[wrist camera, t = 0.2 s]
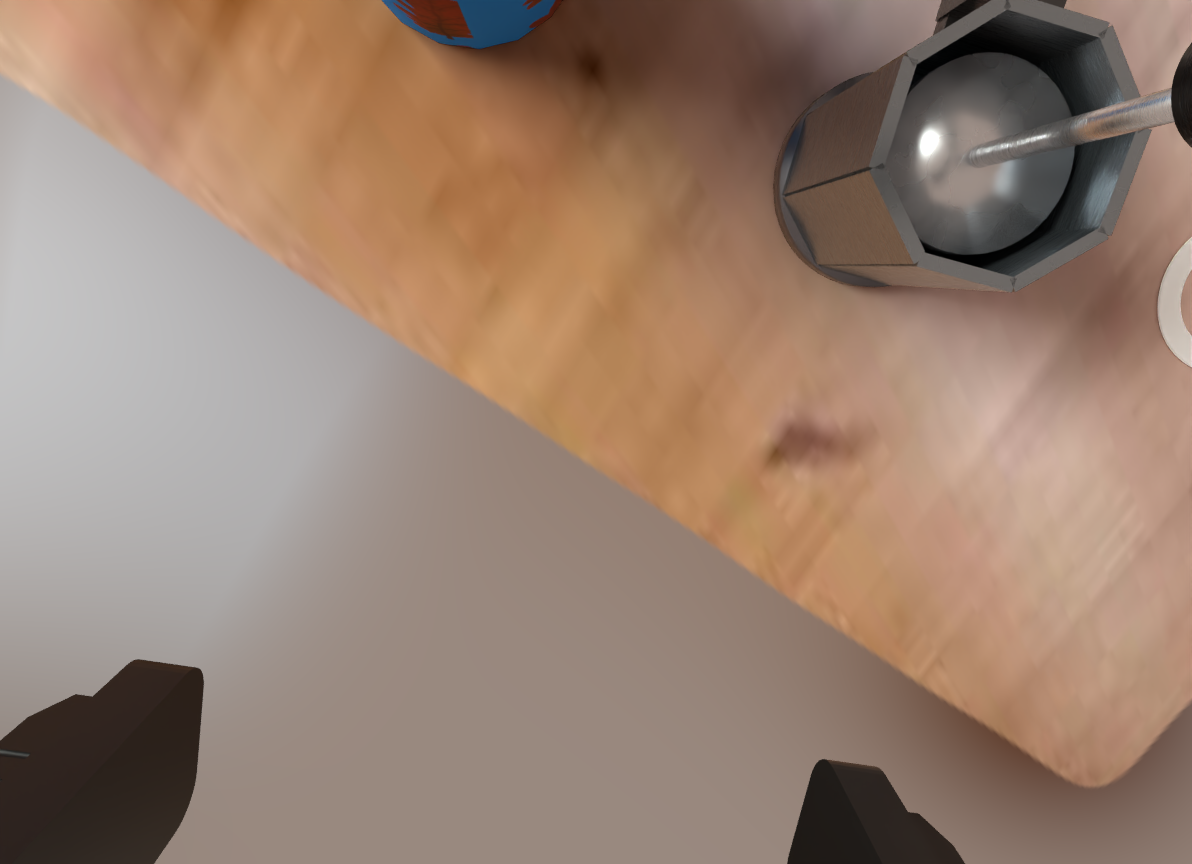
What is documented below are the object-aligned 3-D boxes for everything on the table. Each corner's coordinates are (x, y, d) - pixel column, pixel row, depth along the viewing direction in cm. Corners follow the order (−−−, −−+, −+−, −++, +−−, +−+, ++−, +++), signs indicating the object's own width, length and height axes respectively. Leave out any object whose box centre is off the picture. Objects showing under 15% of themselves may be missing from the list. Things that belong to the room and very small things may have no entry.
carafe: (827, -13, 35) (954, -149, 23) (1021, 46, 36) (1235, -57, 24) (748, 258, 37) (828, 255, 26) (932, 307, 38) (1088, 326, 27)
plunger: (912, 34, 27) (1295, -221, 13) (1088, 88, 28) (1640, -100, 13) (851, 228, 28) (1136, 190, 14) (1021, 275, 29) (1456, 284, 15)
